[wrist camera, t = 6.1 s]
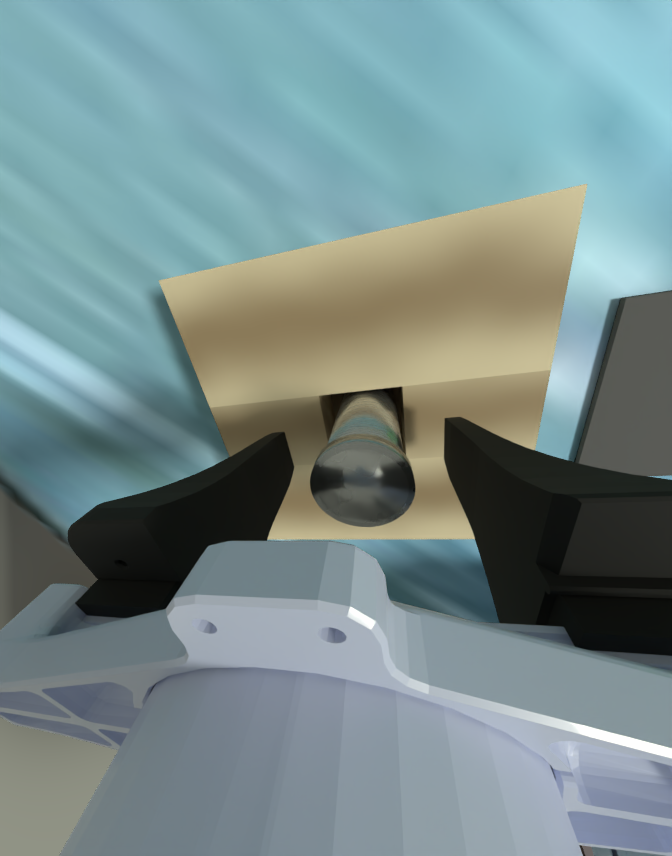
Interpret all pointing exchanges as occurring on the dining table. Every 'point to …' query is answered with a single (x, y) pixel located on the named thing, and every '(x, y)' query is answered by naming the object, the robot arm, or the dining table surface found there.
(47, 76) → the dining table surface
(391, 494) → the pin
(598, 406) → the mat
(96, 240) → the dining table surface
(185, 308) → the socket block
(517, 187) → the dining table surface
